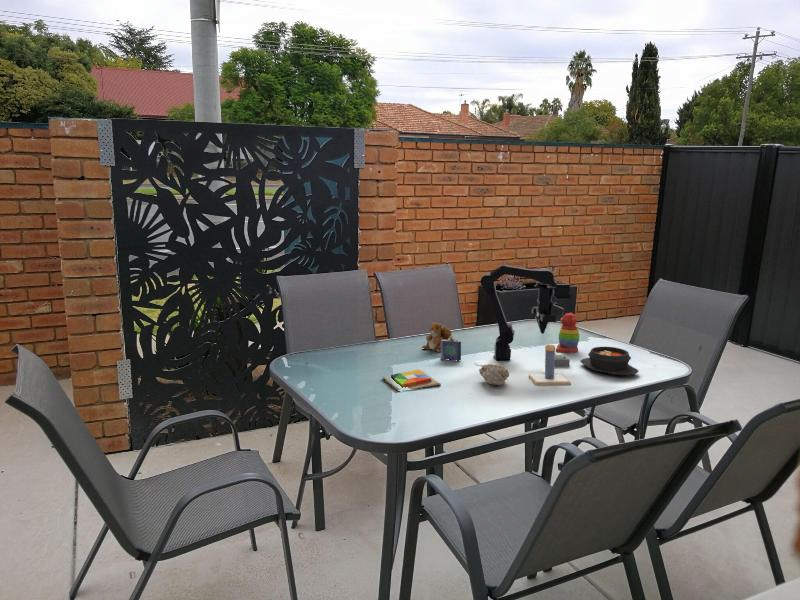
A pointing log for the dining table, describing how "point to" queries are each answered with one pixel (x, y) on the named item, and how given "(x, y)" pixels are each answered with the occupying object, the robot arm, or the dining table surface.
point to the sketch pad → (550, 380)
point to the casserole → (609, 361)
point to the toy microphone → (549, 361)
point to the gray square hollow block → (562, 361)
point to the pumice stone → (494, 374)
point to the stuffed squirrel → (437, 336)
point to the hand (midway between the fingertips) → (542, 333)
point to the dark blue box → (451, 349)
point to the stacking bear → (568, 334)
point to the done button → (559, 356)
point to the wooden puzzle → (412, 379)
